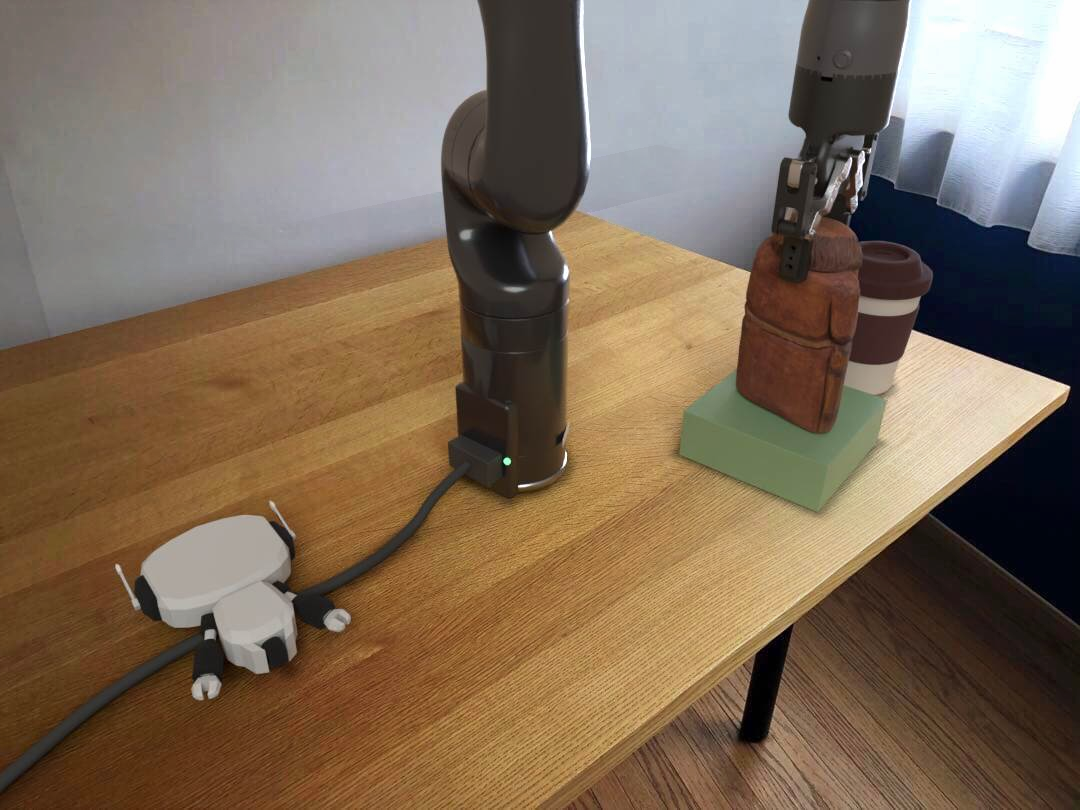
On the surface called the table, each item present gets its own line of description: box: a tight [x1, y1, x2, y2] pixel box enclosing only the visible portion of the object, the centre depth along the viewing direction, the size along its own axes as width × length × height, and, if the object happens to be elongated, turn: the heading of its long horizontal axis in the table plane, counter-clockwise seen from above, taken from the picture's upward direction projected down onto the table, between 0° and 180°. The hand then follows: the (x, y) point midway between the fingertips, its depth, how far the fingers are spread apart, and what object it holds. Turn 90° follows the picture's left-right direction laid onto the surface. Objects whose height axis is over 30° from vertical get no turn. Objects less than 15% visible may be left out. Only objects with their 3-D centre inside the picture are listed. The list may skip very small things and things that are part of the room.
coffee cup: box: [844, 240, 934, 396], centre depth 91 cm, size 10×10×15 cm
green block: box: [678, 368, 888, 513], centre depth 82 cm, size 14×14×5 cm
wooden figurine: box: [736, 216, 863, 434], centre depth 76 cm, size 12×6×18 cm, turn 38°
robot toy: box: [114, 500, 352, 701], centre depth 63 cm, size 12×4×15 cm
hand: (811, 266), depth 73 cm, fingers open, 7 cm apart
